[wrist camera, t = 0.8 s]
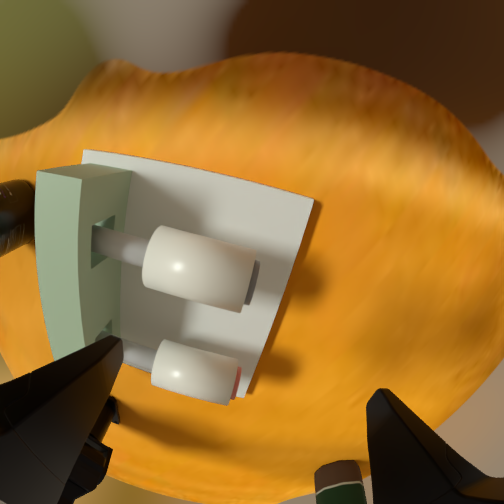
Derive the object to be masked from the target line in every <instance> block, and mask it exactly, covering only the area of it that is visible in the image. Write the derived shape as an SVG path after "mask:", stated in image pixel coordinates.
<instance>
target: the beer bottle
mask: <svg viewBox="0 0 504 504" xmlns="http://www.w3.org/2000/svg"><path fill="white" fill-rule="evenodd" d="M315 492H316V503H317V504H367V501H366V496H365V491H364V486H363V481H362V476H361V472H360V468H359V466H358V464H357V463H356V462H355V461H354V460H341V461H336V462H333V463H330V464H326V465H323V466H322V467H320V468H319V469H318V470H317V471H316V472H315Z"/></svg>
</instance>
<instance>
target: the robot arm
mask: <svg viewBox="0 0 504 504" xmlns="http://www.w3.org/2000/svg"><path fill="white" fill-rule="evenodd" d="M123 359H124V352H123V341H122V339H121V338H119V337H117V336H114V335H109V336H107V337H105V338H102V339H100V340H98V341H96V342H94V343H92V344H90V345H88V346H86V347H83V348H81V349H79V350H77V351H75V352H73V353H71V354H69V355H66V356H64V357H62V358H60V359H58V360H56V361H54V362H51V363H49V364H47V365H45V366H43V367H41V368H39V369H36V370H34V371H32V372H31V373H27V374H25V375H23V376H21V377H18V378H16V379H14V380H12V381H9V382H6V383H3V384H0V504H73V503H74V501H75V499H77V498H79V497H81V496H83V495H85V494H87V493H89V492H91V491H93V490H94V489H95V488H96V487H97V485H99V484H100V483H101V482H102V480H103V479H104V477H105V475H106V472H107V469H108V465H109V462H110V458H111V454H112V451H113V449H112V448H110V447H107V446H106V445H104V444H103V443H101V442H102V440H103V438H104V436H105V434H106V432H107V430H108V428H109V426H110V424H111V422H113V423H116V424H119V423H120V419H119V414H118V408H117V403H116V400H115V399H114V398H112V397H110V396H109V395H110V392H111V390H112V387H113V385H114V382H115V379H116V377H117V374H118V372H119V370H120V367H121V365H122V362H123ZM366 415H367V442H368V451H369V460H370V469H371V479H372V491H373V504H504V478H494V477H490V476H487V475H485V474H484V473H483V472H481V471H480V470H479V469H477V468H476V467H475V466H473V465H472V464H471V463H469V462H468V461H466V460H465V459H464V458H463V457H461V456H460V455H459V454H458V453H457V452H456V451H455V450H453V449H452V448H451V447H450V446H449V445H448V444H446V443H445V441H444V440H443V439H442V438H440V437H439V436H438V435H437V434H436V433H435V432H434V431H433V430H432V429H431V428H430V427H429V426H428V425H427V424H425V423H424V422H423V421H422V420H421V419H420V418H419V417H418V416H417V415H416V414H415V413H414V412H413V411H412V410H411V409H409V408H408V407H407V406H406V405H405V404H404V403H403V402H402V401H401V400H400V399H399V398H398V397H397V396H396V395H395V394H393V393H392V392H391V391H390V390H389V389H386V388H379V389H377V390H376V392H375V393H374V394H373V396H372V397H371V398H370V400H369V401H368V403H367V406H366Z"/></svg>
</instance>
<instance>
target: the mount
mask: <svg viewBox="0 0 504 504" xmlns="http://www.w3.org/2000/svg"><path fill="white" fill-rule="evenodd" d="M313 202H314V199H313V198H310V197H307V196H303V195H300V194H296V193H293V192H290V191H286V190H282V189H279V188H275V187H272V186H268V185H264V184H261V183H257V182H253V181H249V180H245V179H241V178H237V177H233V176H229V175H225V174H221V173H216V172H212V171H208V170H203V169H199V168H194V167H189V166H185V165H180V164H175V163H170V162H165V161H160V160H154V159H149V158H143V157H137V156H131V155H125V154H119V153H113V152H106V151H99V150H91V149H84V151H83V157H82V164H79V165H71V166H64V167H57V168H51V169H45V170H39V171H37V176H36V190H35V248H36V263H37V273H38V282H39V290H40V297H41V303H42V309H43V314H44V320H45V324H46V329H47V334H48V338H49V342H50V346H51V350H52V354H53V357H54V361H56V360H58V359H60V358H62V357H64V356H66V355H69V354H71V353H73V352H75V351H77V350H79V349H81V348H83V347H86V346H88V345H90V344H92V343H94V342H95V338H96V337H97V336H98V335H99V333H100V332H101V331H102V330H103V331H106V332H108V333H111V334H113V335H116V336H118V337H121V338H124V339H126V340H129V341H132V342H134V343H137V344H140V345H143V346H146V347H149V348H152V349H155V350H158V348H159V346H160V344H161V342H162V341H163V340H164V339H167V340H170V341H173V342H176V343H180V344H183V345H186V346H190V347H193V348H197V349H201V350H204V351H208V352H212V353H216V354H220V355H224V356H228V357H232V358H236V359H238V367H241V368H242V370H241V377H240V382H239V387H238V390H237V394H236V397H241V398H244V396H245V393H246V391H247V389H248V386H249V384H250V381H251V379H252V376H253V374H254V371H255V369H256V366H257V363H258V361H259V358H260V356H261V353H262V350H263V348H264V345H265V343H266V340H267V337H268V335H269V332H270V329H271V327H272V324H273V321H274V318H275V316H276V313H277V310H278V307H279V305H280V302H281V299H282V296H283V293H284V291H285V288H286V285H287V282H288V279H289V276H290V273H291V270H292V267H293V264H294V261H295V258H296V255H297V252H298V249H299V246H300V243H301V240H302V237H303V234H304V231H305V228H306V225H307V222H308V218H309V215H310V212H311V209H312V206H313ZM92 225H98V226H101V227H105V228H108V229H112V230H115V231H119V232H122V233H126V234H129V235H133V236H137V237H140V238H144V239H147V240H150V239H151V237H152V235H153V233H154V232H155V230H156V229H157V228H158V227H159V226H161V225H163V226H167V227H171V228H174V229H178V230H182V231H186V232H190V233H194V234H198V235H201V236H205V237H209V238H213V239H217V240H221V241H224V242H228V243H232V244H236V245H240V246H244V247H247V248H251V249H255V250H256V257H255V260H258V261H260V269H259V274H258V278H257V282H256V286H255V290H254V293H253V297H252V300H251V302H250V305H249V306H248V305H243V308H242V311H241V313H236V312H232V311H228V310H224V309H220V308H216V307H213V306H209V305H205V304H202V303H198V302H194V301H191V300H187V299H184V298H180V297H177V296H174V295H170V294H167V293H164V292H160V291H157V290H154V289H151V288H147V287H145V286H144V284H143V279H142V269H143V268H142V267H139V266H135V265H132V264H129V263H126V262H123V261H119V260H116V259H113V258H110V257H107V256H104V255H101V254H98V253H95V252H92V251H91V236H92ZM122 363H125V364H127V365H130V366H133V367H135V368H138V369H141V370H144V371H147V372H149V373H152V371H150V370H147V369H144V368H142V367H139V366H136V365H133V364H131V363H128V362H125V361H123V362H122Z"/></svg>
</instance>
